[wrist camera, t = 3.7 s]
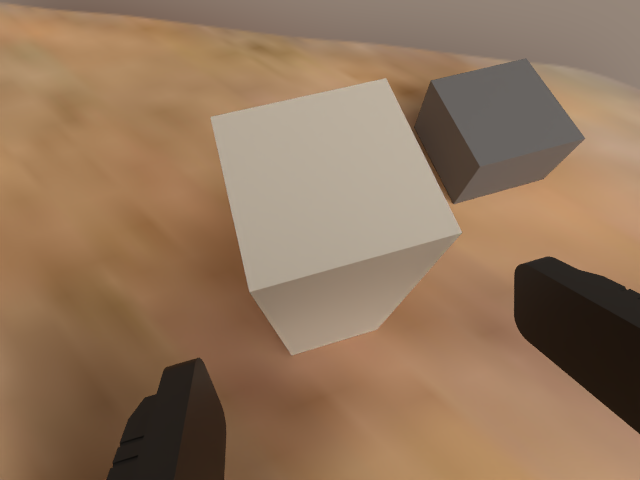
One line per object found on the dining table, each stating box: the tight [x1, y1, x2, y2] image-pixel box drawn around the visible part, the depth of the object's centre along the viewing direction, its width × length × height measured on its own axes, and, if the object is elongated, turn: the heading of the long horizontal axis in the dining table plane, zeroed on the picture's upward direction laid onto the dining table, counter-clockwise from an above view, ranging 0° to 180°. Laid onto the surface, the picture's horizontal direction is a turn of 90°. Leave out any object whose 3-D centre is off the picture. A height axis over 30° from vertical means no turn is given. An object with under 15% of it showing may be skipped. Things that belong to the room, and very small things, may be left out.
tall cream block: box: [211, 78, 462, 355], centre depth 14 cm, size 4×4×12 cm
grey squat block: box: [414, 59, 585, 204], centre depth 21 cm, size 6×6×4 cm
